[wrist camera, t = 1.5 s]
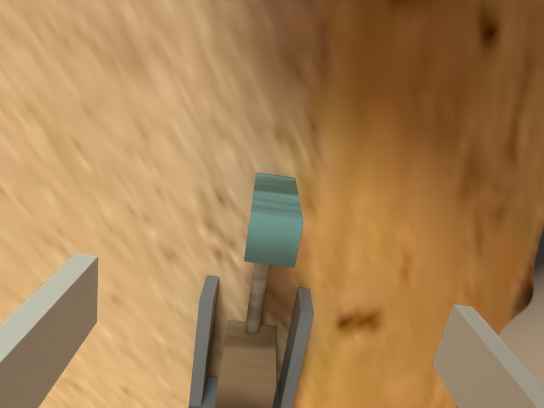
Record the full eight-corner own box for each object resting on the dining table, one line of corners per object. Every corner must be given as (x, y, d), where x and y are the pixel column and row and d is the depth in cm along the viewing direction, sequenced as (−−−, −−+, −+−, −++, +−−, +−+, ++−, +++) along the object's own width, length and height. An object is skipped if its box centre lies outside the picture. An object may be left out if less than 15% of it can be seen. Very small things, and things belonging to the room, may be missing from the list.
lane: (206, 275, 38) (199, 299, 35) (309, 289, 39) (313, 313, 35) (195, 383, 43) (188, 414, 39) (287, 394, 44) (288, 425, 40)
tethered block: (248, 171, 35) (239, 212, 25) (303, 179, 35) (314, 223, 25) (222, 365, 42) (207, 452, 33) (267, 370, 43) (265, 458, 33)
